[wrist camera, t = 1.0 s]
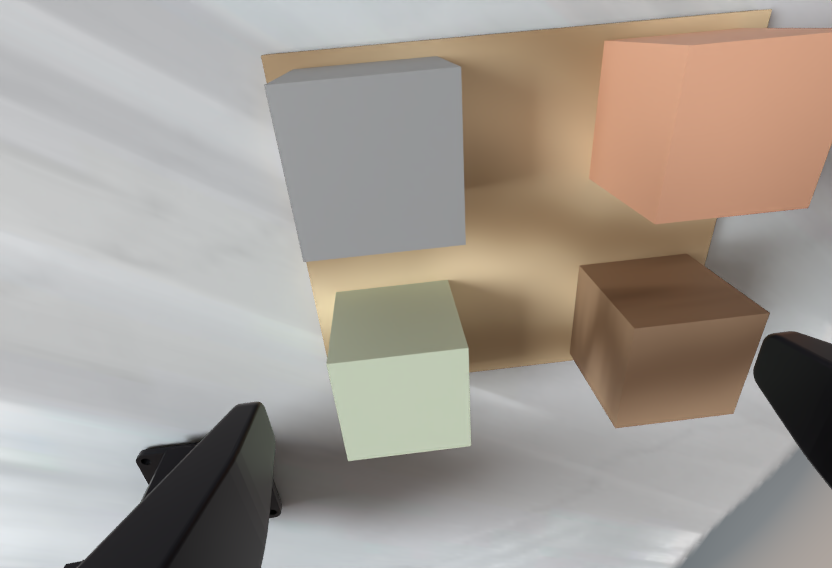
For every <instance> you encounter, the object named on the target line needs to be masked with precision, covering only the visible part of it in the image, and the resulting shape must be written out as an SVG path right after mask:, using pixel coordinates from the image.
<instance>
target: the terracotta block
mask: <svg viewBox="0 0 832 568" xmlns="http://www.w3.org/2000/svg"><path fill="white" fill-rule="evenodd" d="M831 144H832V28H736V29H725V30H714V31H703V32H692V33H682V34H671V35H660V36H649V37H638V38H627V39H616V40H606V41H604V49H603V58H602V67H601V76H600V85H599V94H598V103H597V111H596V120H595V129H594V138H593V147H592V156H591V165H590V174H589V179H590V180H592V181H593V182H595V183H596V184H597V185H599V186H600V187H602V188H603V189H605V190H606V191H607V192H609V193H610V194H612V195H613V196H615V197H616V198H618V199H619V200H620V201H622V202H623V203H625V204H626V205H628V206H629V207H631V208H632V209H633V210H635V211H636V212H638V213H639V214H641V215H642V216H643V217H645V218H646V219H648V220H649V221H651V222H652V223H654V224H664V223H673V222H682V221H692V220H701V219H710V218H720V217H729V216H738V215H748V214H757V213H766V212H776V211H785V210H794V209H804V208H808V207H809V204H810V202H811V199H812V196H813V194H814V191H815V188H816V185H817V183H818V180H819V177H820V174H821V172H822V169H823V166H824V163H825V161H826V158H827V155H828V152H829V150H830V147H831Z"/></svg>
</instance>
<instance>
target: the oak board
mask: <svg viewBox="0 0 832 568" xmlns="http://www.w3.org/2000/svg"><path fill="white" fill-rule="evenodd" d="M771 11H772V9H770V10H752V11H741V12H730V13H719V14H707V15H696V16H685V17H674V18H663V19H652V20H641V21H630V22H619V23H608V24H597V25H586V26H575V27H564V28H553V29H542V30H531V31H520V32H509V33H498V34H487V35H476V36H465V37H454V38H443V39H432V40H421V41H410V42H399V43H388V44H377V45H366V46H354V47H343V48H332V49H321V50H310V51H299V52H288V53H277V54H266V55H262V56H261V58H262V63H263V67H264V72H265V77H266V81H267V83H269V82H271V81H273V80H274V79H276V78H278V77H280V76H282V75H284V74H286V73H287V72H289V71H291V70H293V69H301V68H312V67H323V66H334V65H345V64H356V63H366V62H377V61H388V60H399V59H410V58H421V57H432V56H438V57H440V58H442V59H445V60H447V61H449V62H452V63H454V64H456V65H458V66H461V80H462V119H463V157H464V196H465V234H466V245H459V246H449V247H440V248H431V249H421V250H412V251H403V252H393V253H384V254H375V255H365V256H356V257H347V258H338V259H328V260H319V261H310V262H306V263H307V268H308V272H309V277H310V281H311V286H312V290H313V295H314V299H315V304H316V309H317V313H318V318H319V322H320V327H321V331H322V336H323V340H324V345H325V349H326V354H327V357H328V349H329V341H330V334H331V326H332V319H333V311H334V304H335V296H336V292H342V291H351V290H360V289H369V288H378V287H387V286H396V285H405V284H414V283H424V282H433V281H442V280H448V282H449V285H450V289H451V292H452V295H453V299H454V302H455V305H456V309H457V312H458V315H459V318H460V322H461V325H462V328H463V332H464V335H465V338H466V341H467V345H468V349H469V372H477V371H485V370H494V369H502V368H511V367H520V366H528V365H537V364H545V363H554V362H562V361H571V360H574V359H573V358H572V356H571V355H570V345H571V336H572V327H573V318H574V309H575V300H576V291H577V282H578V273H579V265H587V264H596V263H606V262H615V261H624V260H633V259H642V258H651V257H660V256H669V255H678V254H688V255H690V256H691V257H692V258H694V259H695V260H697V261H698V262H699V263H701V264H702V265H705V261H706V257H707V254H708V250H709V246H710V242H711V238H712V235H713V231H714V227H715V223H716V220H717V218H710V219H701V220H692V221H682V222H673V223H664V224H654V223H652V222H651V221H649V220H648V219H646V218H645V217H643V216H642V215H641V214H639V213H638V212H636V211H635V210H633V209H632V208H631V207H629V206H628V205H626V204H625V203H623V202H622V201H620V200H619V199H618V198H616V197H615V196H613V195H612V194H610V193H609V192H607V191H606V190H605V189H603V188H602V187H600V186H599V185H597V184H596V183H595V182H593V181H592V180H590V179H589V174H590V165H591V156H592V147H593V138H594V129H595V120H596V111H597V103H598V94H599V85H600V76H601V67H602V58H603V49H604V41H606V40H616V39H627V38H638V37H649V36H660V35H671V34H682V33H692V32H703V31H714V30H725V29H736V28H767V26H768V22H769V19H770V15H771Z"/></svg>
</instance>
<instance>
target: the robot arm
mask: <svg viewBox="0 0 832 568" xmlns="http://www.w3.org/2000/svg"><path fill="white" fill-rule="evenodd" d="M753 374H754V379H755V381H756V383H757V385H758V386H759V388H760V389H761V391H762V392H763V394H764V395H765V397H766V398H767V400H768V401H769V403H770V404H771V406H772V407H773V409H774V410H775V412H776V413H777V415H778V416H779V418H780V419H781V421H782V422H783V424H784V425H785V427H786V428H787V430H788V431H789V433H790V434H791V436H792V437H793V439H794V440H795V442H796V443H797V445H798V446H799V448H800V449H801V450H802V452H803V453H804V455H805V456H806V457H807V459H808V460H809V461H810V463H811V464H812V465H813V467H814V468H815V469H816V470H817V472H818V473H819V474H820V475H821V476H822V478H823V479H824V480H825V482H826V483H827V484H828V485H829V487H830V488H831V489H832V344H831V343H828V342H825V341H822V340H819V339H816V338H813V337H810V336H807V335H804V334H801V333H798V332H793V331H788V332H780V333H773V334H770V335H768V336H767V337H766V338H765V339H764V340H763V343H762V346H761V349H760V351H759V354H758V357H757V360H756V363H755V366H754V369H753ZM274 457H275V437H274V433H273V430H272V427H271V424H270V421H269V418H268V416H267V413H266V410H265V407H264V405H263V404H262V403H261V402H250V403H243V404H238V405H236V406H235V407H234V408H233V409H232V410H231V411H230V412H229V413H228V414H227V415H226V416H225V417H224V418H223V419H222V420H221V421H220V422H219V423H218V424H217V425H216V426H215V427H214V428H213V429H212V430H211V431H210V432H209V433H208V434H207V435H206V436H205V437H204V438H203V439H202V440H201V441H200V442H199V443H195V444H187V445H178V446H170V447H162V448H154V449H146V450H142V451H141V452H140V453H139V455H138V457H137V459H136V463H137V465H138V467H139V468H140V470H141V472H142V474H143V475H144V477H145V479H146V481H147V483H148V484H149V486H148V488H147V490H146V492H145V494H144V496H143V498H142V500H141V502H140V504H139V505H138V506H137V507H136V508H135V509H134V510H133V511H132V512H131V513H130V514H129V515H128V516H127V517H126V518H125V519H124V520H123V521H122V522H121V523H120V524H119V525H118V526H117V527H116V528H115V529H114V530H113V531H112V532H111V533H110V534H109V535H108V536H107V537H106V538H105V539H104V540H103V541H102V542H101V543H100V544H99V545H98V546H97V548H96V549H95V550H94V551H93V552H92V553H91V554H90V555H89V556H88V557H87V558H86V559H85V560H83V561H80V562H75V563H70V564H66V565H65V567H64V568H261V565H262V560H263V555H264V550H265V544H266V539H267V532H268V523H269V518H273V517H277V516H279V515H280V514H281V510H282V504H281V501H280V498H279V495H278V493H277V490H276V487H275V484H274V481H273V468H274Z"/></svg>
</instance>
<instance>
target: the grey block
mask: <svg viewBox="0 0 832 568" xmlns="http://www.w3.org/2000/svg"><path fill="white" fill-rule="evenodd" d="M264 86H265V91H266V95H267V100H268V104H269V109H270V113H271V118H272V122H273V127H274V131H275V136H276V140H277V145H278V149H279V154H280V158H281V163H282V167H283V172H284V176H285V181H286V185H287V190H288V194H289V199H290V203H291V208H292V212H293V216H294V221H295V225H296V230H297V234H298V239H299V243H300V248H301V252H302V257H303V261H304V262H310V261H319V260H328V259H338V258H347V257H356V256H365V255H375V254H384V253H393V252H403V251H412V250H421V249H431V248H440V247H449V246H459V245H466V234H465V196H464V157H463V119H462V80H461V66H458V65H456V64H454V63H452V62H449V61H447V60H445V59H442V58H440V57H438V56H432V57H421V58H410V59H399V60H388V61H377V62H366V63H356V64H345V65H334V66H323V67H312V68H301V69H293V70H291V71H289V72H287V73H286V74H284V75H282V76H280V77H278V78H276V79H274V80H273V81H271V82H269V83H267V84H265V85H264Z"/></svg>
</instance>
